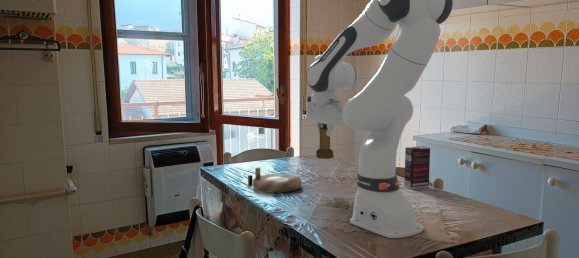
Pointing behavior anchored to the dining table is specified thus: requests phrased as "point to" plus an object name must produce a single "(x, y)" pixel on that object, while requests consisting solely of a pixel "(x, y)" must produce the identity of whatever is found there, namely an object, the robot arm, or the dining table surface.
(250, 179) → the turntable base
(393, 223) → the robot arm
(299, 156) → the dining table surface
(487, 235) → the dining table surface
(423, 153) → the supplement box
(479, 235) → the dining table surface
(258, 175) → the turntable
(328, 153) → the brown wooden upright piece
